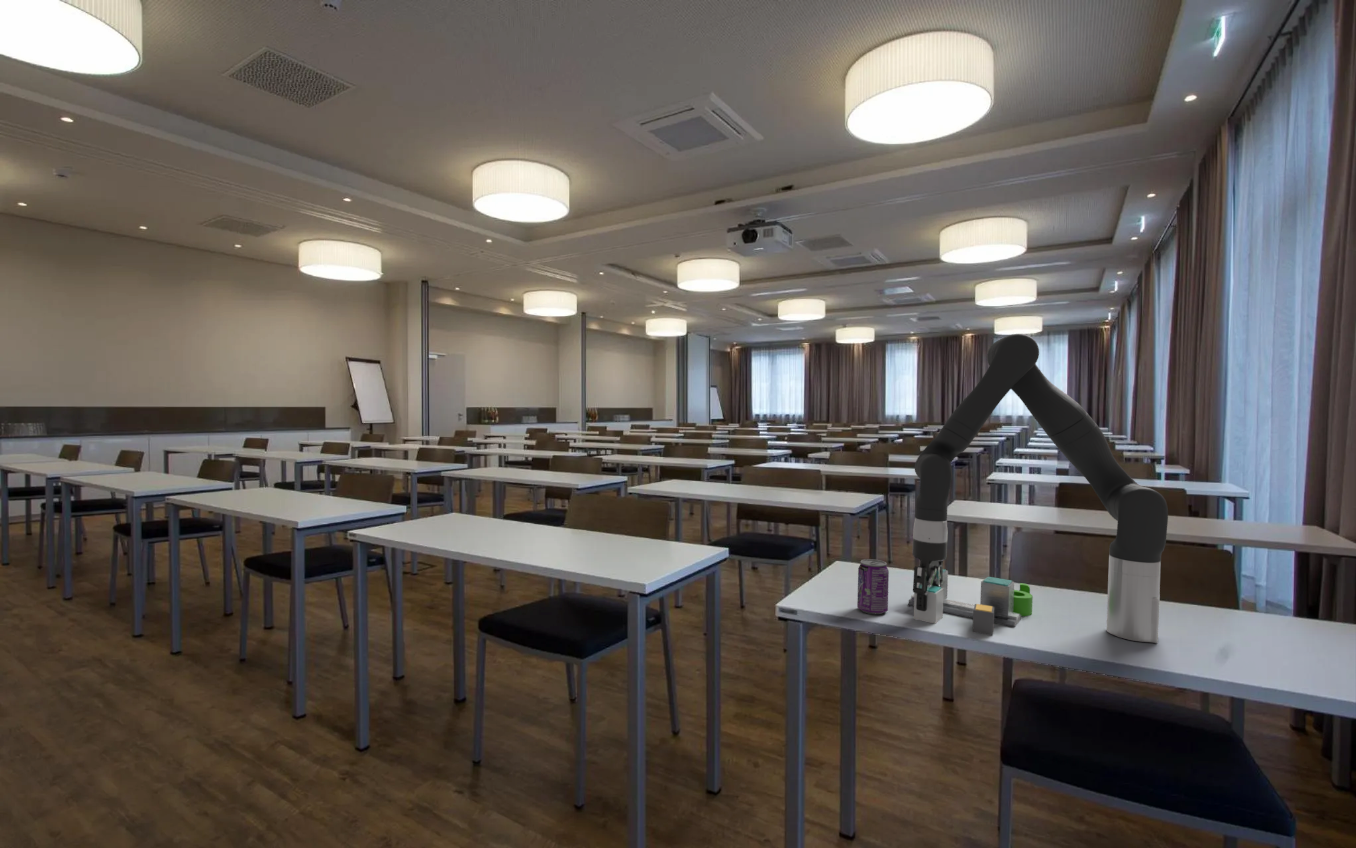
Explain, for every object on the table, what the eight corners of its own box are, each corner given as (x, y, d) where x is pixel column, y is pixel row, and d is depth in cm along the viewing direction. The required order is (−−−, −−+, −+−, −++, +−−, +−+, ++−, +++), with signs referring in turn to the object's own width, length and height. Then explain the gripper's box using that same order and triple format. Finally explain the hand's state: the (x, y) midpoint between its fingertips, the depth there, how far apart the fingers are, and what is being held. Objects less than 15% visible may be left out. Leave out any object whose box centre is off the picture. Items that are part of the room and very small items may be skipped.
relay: (993, 628, 141) (994, 606, 141) (992, 635, 137) (993, 612, 137) (974, 625, 143) (974, 603, 143) (972, 632, 139) (973, 609, 139)
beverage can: (862, 604, 157) (864, 557, 156) (891, 610, 153) (892, 561, 152) (853, 611, 151) (854, 562, 151) (882, 618, 147) (883, 567, 147)
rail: (1020, 619, 148) (1022, 581, 147) (1014, 627, 142) (1015, 587, 142) (917, 598, 163) (918, 563, 162) (908, 604, 157) (909, 568, 157)
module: (942, 617, 148) (943, 587, 148) (935, 623, 144) (936, 592, 144) (921, 613, 151) (922, 583, 151) (913, 618, 147) (914, 588, 147)
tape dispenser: (1032, 619, 149) (1033, 599, 149) (998, 613, 152) (999, 595, 152) (1030, 602, 162) (1031, 584, 162) (999, 597, 166) (1000, 580, 165)
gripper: (937, 545, 139) (934, 617, 140) (955, 536, 150) (952, 602, 151) (903, 540, 144) (900, 609, 144) (923, 531, 155) (920, 596, 155)
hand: (927, 606), depth 147 cm, fingers open, 8 cm apart
